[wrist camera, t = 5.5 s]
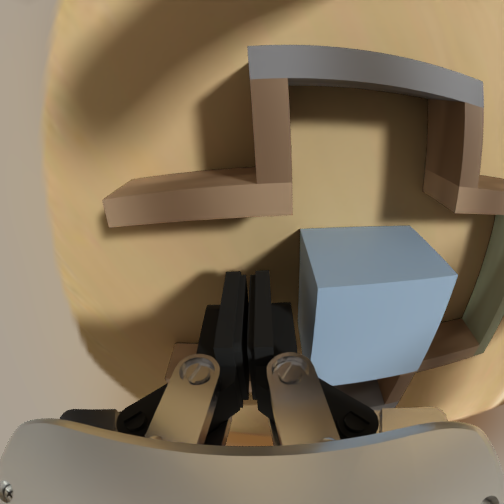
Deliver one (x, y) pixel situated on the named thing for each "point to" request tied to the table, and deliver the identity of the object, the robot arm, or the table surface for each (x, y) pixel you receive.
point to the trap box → (280, 180)
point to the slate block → (369, 301)
